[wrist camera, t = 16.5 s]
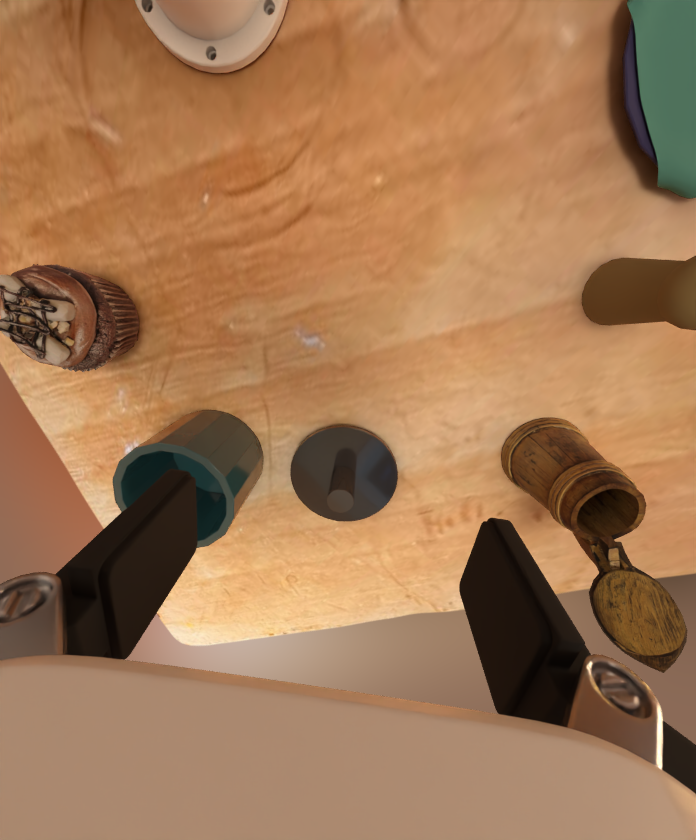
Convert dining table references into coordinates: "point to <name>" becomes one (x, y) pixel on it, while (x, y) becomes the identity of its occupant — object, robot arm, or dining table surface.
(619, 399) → the dining table surface
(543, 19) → the dining table surface
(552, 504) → the wooden mug
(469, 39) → the dining table surface
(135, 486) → the cup
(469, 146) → the dining table surface
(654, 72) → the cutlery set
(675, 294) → the brown tapered piece
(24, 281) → the cupcake
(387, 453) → the lid
